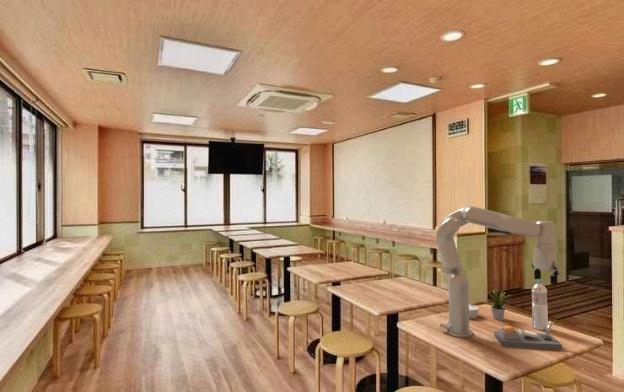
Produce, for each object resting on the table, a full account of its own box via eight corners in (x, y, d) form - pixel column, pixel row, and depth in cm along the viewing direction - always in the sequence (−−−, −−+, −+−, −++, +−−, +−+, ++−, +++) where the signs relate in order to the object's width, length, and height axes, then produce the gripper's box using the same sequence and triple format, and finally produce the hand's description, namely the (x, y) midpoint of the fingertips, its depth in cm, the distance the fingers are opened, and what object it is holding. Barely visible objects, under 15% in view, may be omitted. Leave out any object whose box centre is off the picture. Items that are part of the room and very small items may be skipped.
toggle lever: (544, 336, 164) (550, 321, 164) (542, 334, 166) (548, 319, 166) (548, 337, 164) (554, 323, 163) (547, 336, 166) (552, 321, 165)
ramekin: (483, 317, 202) (483, 308, 202) (468, 320, 198) (468, 311, 198) (468, 311, 212) (468, 302, 212) (453, 314, 208) (453, 305, 208)
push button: (505, 335, 167) (505, 328, 167) (502, 331, 171) (502, 325, 171) (515, 335, 166) (515, 329, 166) (512, 331, 170) (512, 325, 170)
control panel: (501, 346, 164) (501, 334, 164) (494, 336, 175) (494, 325, 175) (562, 350, 158) (561, 338, 158) (550, 339, 170) (549, 327, 170)
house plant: (507, 325, 188) (506, 295, 188) (480, 319, 198) (479, 290, 198) (516, 318, 198) (515, 290, 198) (490, 313, 208) (489, 285, 208)
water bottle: (550, 331, 180) (549, 282, 179) (535, 330, 181) (534, 282, 181) (544, 326, 186) (543, 279, 186) (530, 325, 188) (529, 279, 188)
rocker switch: (520, 334, 166) (521, 331, 166) (517, 331, 170) (518, 328, 169) (537, 337, 164) (537, 335, 164) (533, 334, 168) (534, 331, 168)
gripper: (524, 244, 178) (525, 277, 178) (553, 249, 161) (553, 286, 161) (537, 243, 179) (538, 276, 180) (567, 248, 162) (567, 285, 162)
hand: (545, 281), depth 170 cm, fingers open, 9 cm apart
